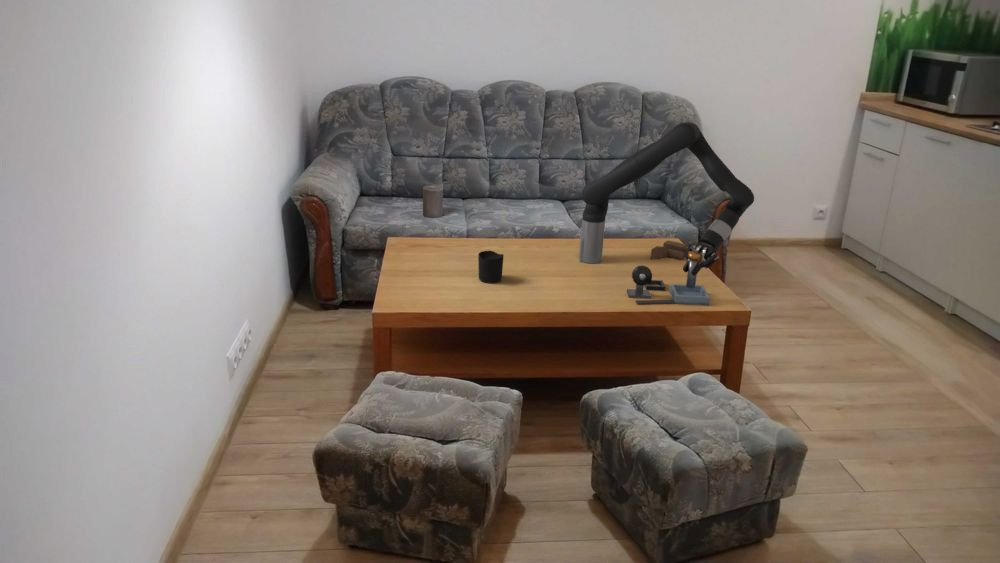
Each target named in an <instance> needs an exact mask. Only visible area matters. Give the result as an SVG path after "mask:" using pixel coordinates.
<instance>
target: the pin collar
mask: <svg viewBox="0 0 1000 563" xmlns="http://www.w3.org/2000/svg"><path fill="white" fill-rule="evenodd" d="M644 288H645V290H649V291H657V290H658V291H661V292H663V291H664V292H666V285H665V283H664V281H663V280H660V279H658V280H656V279H652V280H651V281H650V283H648V284H647V285H644Z"/></svg>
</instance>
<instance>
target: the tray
mask: <svg viewBox="0 0 1000 563" xmlns="http://www.w3.org/2000/svg"><path fill="white" fill-rule="evenodd" d="M668 292H669V294H670V295H671V298H672V300H674V301H675V304H674V305H688V306H689V305H693V306H710V300H711V299H710V298H711V297H710V295H709V293H708V291H707V290H706V289H705V287H704V285H699V284H695V288H693V289H691V288H687V287H686V284H681V283H680V284H677V283H670V284H669V291H668Z"/></svg>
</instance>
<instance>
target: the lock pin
mask: <svg viewBox="0 0 1000 563" xmlns="http://www.w3.org/2000/svg"><path fill="white" fill-rule="evenodd" d="M688 259H689V267H688V272H687V276H686V284H685V285H686V287H687V288H691V289H693V288H695V285H697V283H696V282H697V277H698V276H697V275H698V273H697V274H696V275H695V276H694V275H692V274H691V271H692V269H693V268H694V267H695V265H696V264H697V265H698V261H699V260H700V259H701V253H700V252H697V251H689V253H688Z"/></svg>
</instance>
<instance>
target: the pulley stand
mask: <svg viewBox="0 0 1000 563" xmlns="http://www.w3.org/2000/svg"><path fill="white" fill-rule="evenodd" d="M651 270H652V269H650V267H649V266H647V265H637V266H636V267H634V269H633V270H632V272H631V279H632V280H633V282H634V284H635V289H634V288H627V290H626V293H627V297H628V298H631V299H632V298H633V299H648V300H652V295H651V292H650V290H646V289H644V288H645V285H647V284H648V283H650V281H651V280H653V273H652V271H651Z"/></svg>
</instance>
